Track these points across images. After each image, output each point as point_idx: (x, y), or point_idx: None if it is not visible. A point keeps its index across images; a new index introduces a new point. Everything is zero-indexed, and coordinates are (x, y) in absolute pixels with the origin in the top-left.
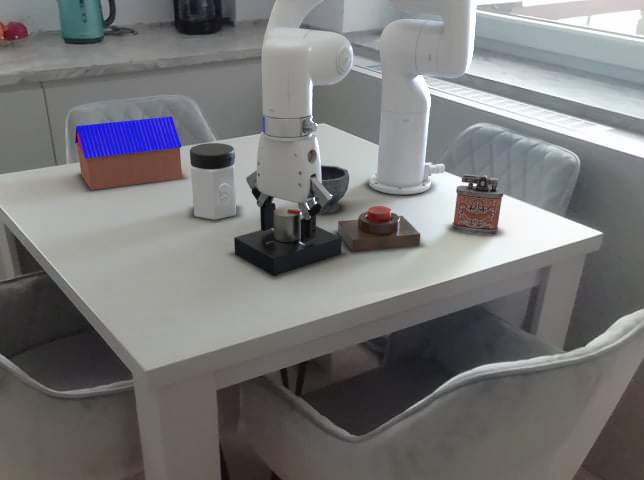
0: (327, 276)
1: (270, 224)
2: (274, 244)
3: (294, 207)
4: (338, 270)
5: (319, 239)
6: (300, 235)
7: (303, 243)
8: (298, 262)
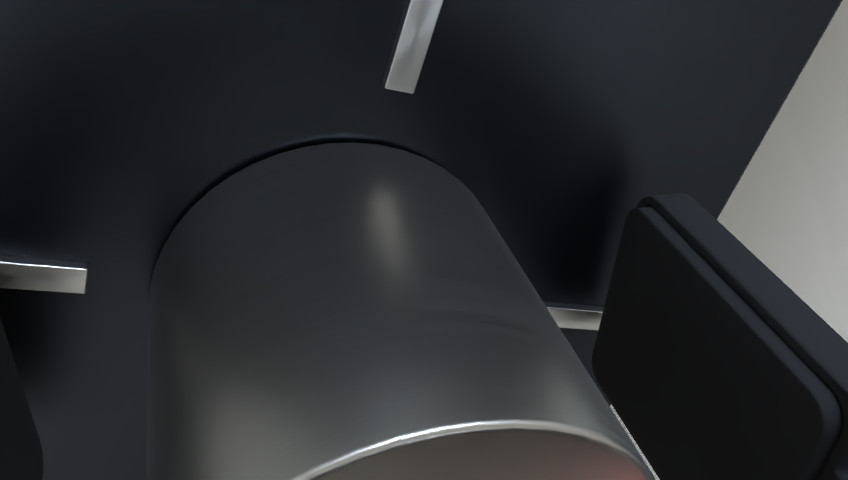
0: (770, 258)
1: (8, 410)
2: None
3: (419, 461)
4: (819, 138)
5: (685, 100)
6: (624, 422)
7: (572, 288)
8: None
